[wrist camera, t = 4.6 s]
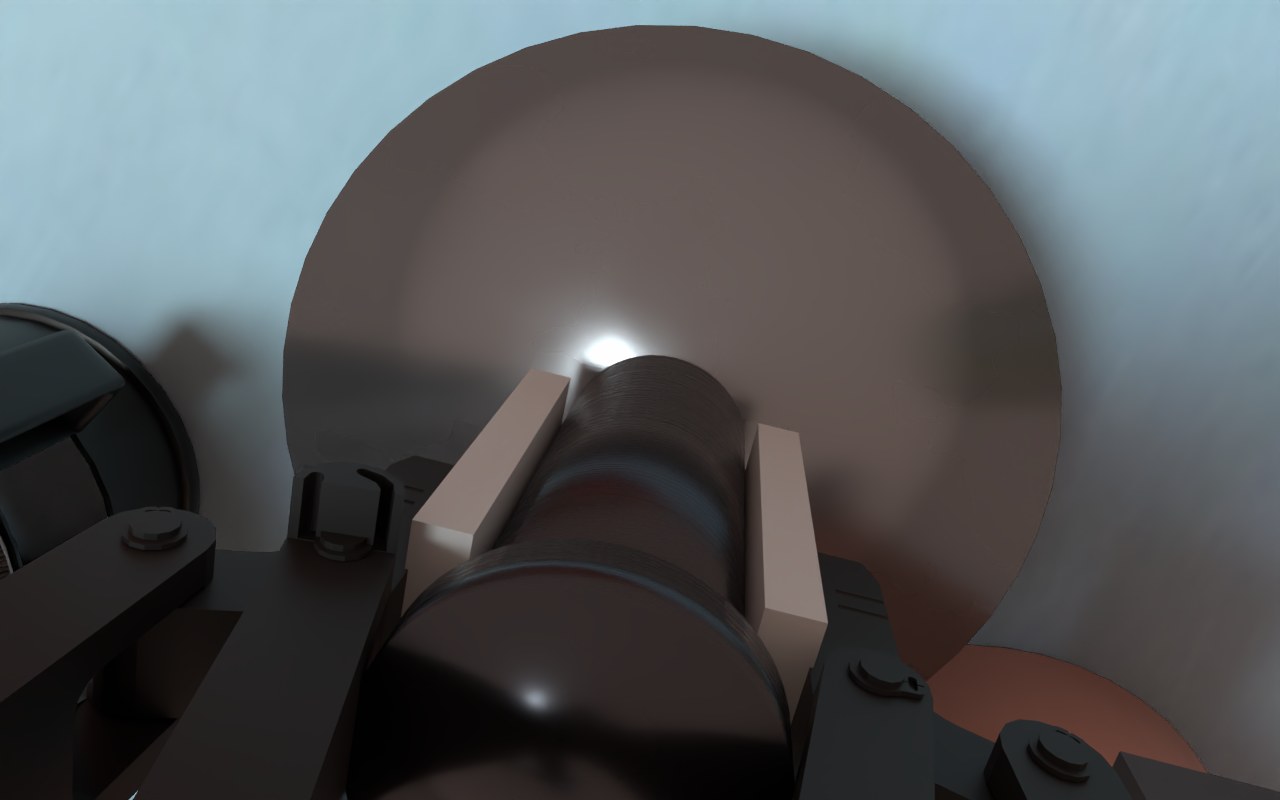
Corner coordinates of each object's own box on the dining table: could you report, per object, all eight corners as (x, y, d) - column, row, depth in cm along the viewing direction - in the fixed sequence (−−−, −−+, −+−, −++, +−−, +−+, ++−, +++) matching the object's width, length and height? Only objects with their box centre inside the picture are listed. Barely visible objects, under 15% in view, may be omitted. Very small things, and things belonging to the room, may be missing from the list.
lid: (307, 604, 24) (-130, 1113, 12) (381, -41, 19) (-244, -276, 7) (896, 754, 24) (1054, 1440, 12) (1132, 130, 19) (1847, 194, 7)
